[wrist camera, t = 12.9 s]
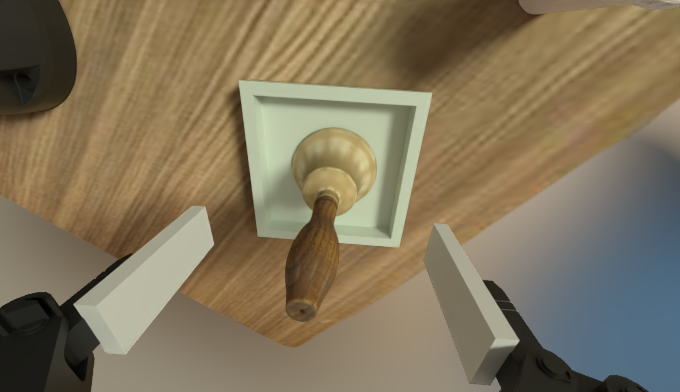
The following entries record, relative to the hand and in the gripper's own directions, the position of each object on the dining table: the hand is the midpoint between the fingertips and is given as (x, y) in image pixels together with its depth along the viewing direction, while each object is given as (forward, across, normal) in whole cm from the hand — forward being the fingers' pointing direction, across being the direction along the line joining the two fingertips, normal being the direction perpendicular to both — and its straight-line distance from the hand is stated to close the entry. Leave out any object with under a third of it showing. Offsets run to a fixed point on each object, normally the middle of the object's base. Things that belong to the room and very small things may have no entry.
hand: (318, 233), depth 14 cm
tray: (+11, 0, 0) cm, 11 cm away
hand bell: (+11, 0, 0) cm, 11 cm away
